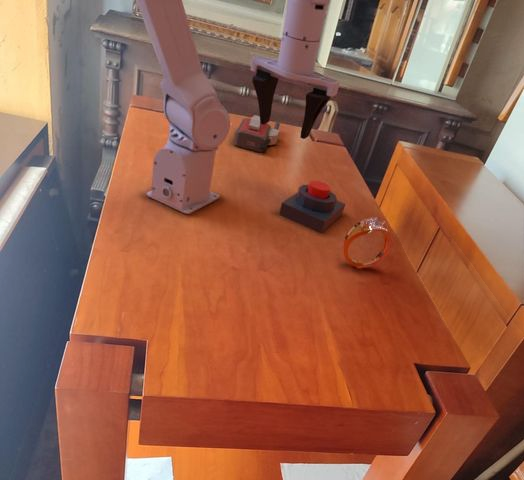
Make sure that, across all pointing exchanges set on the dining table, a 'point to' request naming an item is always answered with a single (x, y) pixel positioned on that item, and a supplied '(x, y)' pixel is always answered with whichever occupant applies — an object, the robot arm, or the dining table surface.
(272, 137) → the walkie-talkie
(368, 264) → the ring
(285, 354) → the dining table surface
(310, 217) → the switch box
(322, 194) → the light button
